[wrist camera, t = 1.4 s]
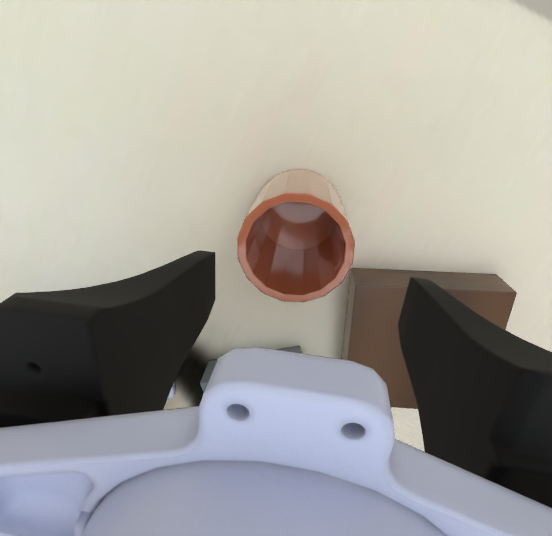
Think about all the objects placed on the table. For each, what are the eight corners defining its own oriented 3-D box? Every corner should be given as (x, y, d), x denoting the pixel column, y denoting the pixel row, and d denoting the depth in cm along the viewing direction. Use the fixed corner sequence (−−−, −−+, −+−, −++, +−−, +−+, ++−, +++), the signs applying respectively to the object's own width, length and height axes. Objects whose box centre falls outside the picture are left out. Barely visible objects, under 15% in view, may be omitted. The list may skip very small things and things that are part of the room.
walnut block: (339, 379, 27) (342, 404, 25) (351, 267, 24) (355, 285, 21) (464, 386, 27) (479, 413, 24) (496, 274, 23) (517, 292, 21)
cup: (256, 250, 24) (239, 299, 18) (255, 167, 21) (235, 191, 16) (337, 254, 23) (348, 304, 17) (345, 170, 21) (359, 195, 15)
